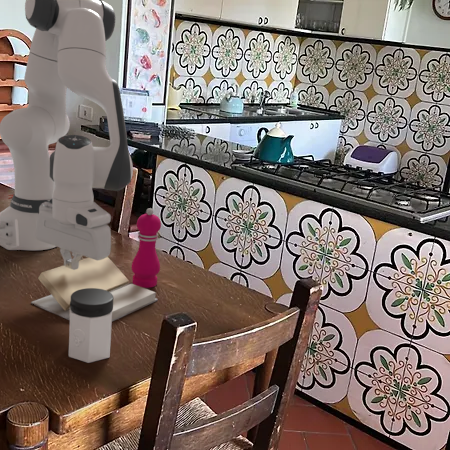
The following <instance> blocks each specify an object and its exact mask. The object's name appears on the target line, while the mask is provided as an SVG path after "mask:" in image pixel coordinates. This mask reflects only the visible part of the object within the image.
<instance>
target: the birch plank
mask: <svg viewBox="0 0 450 450" xmlns="http://www.w3.org/2000/svg"><path fill="white" fill-rule="evenodd" d="M37 280H39V281H40V283H41V284H42V285H43V286H44V287H45V289H46V290H47V291H48V292H49V294H50V295H52V296H53V297H54V298H55V299H56V301H57V302H58V303H59V304H60V305H61V307H62V308H63V309H64V310H68V309H70V301H71V295H72V293H74V292H75V291H77V290H81V289H86V288H97V289H103V290H106V291H108V292H109V291H111V290H114V289H116V288H119V287H121V286H124V285H126V284H129V283H130V280H129V279H128V278H127V277H126V276H125V274H124V273H123V272H122V271H121V270H120V269H119V267H118V266H116V264H115V263H114V262H113V260H111V259H110V258H109V256H108V257H107V258H104V259H101V260H94V259H91V258H89V257H86V258H81V259H80V261H79V267H78V269H75V270H73V269H70V268H67V267H65V266H64V264H63V265H61V266H58V267H55V268H52V269H48V270H45V271H43V272H40V274H39V276H38V279H37Z"/></svg>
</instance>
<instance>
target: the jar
mask: <svg viewBox="0 0 450 450" xmlns="http://www.w3.org/2000/svg"><path fill="white" fill-rule="evenodd" d="M113 299H114V297H113V295H112V294H111V293H110V292H108V291H106V290H103V289H97V288H86V289H81V290H77V291H75V292H74V293H72V295H71V301H70V309H71V311H70V320H69V327H68V328H69V330H68V333H69V334H68V336H69V338H68V357H69V358H71V359H74V360H78V361H81V362H84V363H87V364H90V363H94V362H98V361H101V360H105V359H108V358H110V356H111V354H110V353H111V344H112V343H111V341H112V340H111V339H112V326H113V325H112V324H113V323H112V322H113V321H112V310H113Z"/></svg>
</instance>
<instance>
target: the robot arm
mask: <svg viewBox="0 0 450 450" xmlns="http://www.w3.org/2000/svg"><path fill="white" fill-rule="evenodd" d="M24 11H25V12H24V13H25V19H26V21H27V23H28V24H29V25H30V26H31V27H33V28H35V30H34V33H33V37H32V41H31V43H30V47H29V53H28V58H27V63H26V68H25V73H24V77H23V78H24V84H25V85H26V86H27V90H28V105H27V107H22V108H17V109H15V110H13V111H11V112H9V113H8V114H6V115H5V116H4V117H3V118H2V119H1V121H0V138H1V140H2V142H3V143H4V145H6V147H8V150H9V151H10V155H11V158H12V162H13V169H14V193H12V194H8V195H7V197H8V198H7V199H8V200H10V204H9V205H8V207H6V208H5V209H3V210H2V211H0V246H1V247H3V248H4V249H6V250H8V251H17V250H18V251H20V250H21V251H43V250H45V251H46V250H50V249H53V248H56V247H57V248H59V251H60V255H61V257H62V259H63V265H64V266H65V267H67V268H70V269H73V270H75V269H78V267H79V261H80V260H82V259H83V257H86V258H88V257H89V258H91V259H94V260H101V259H104V258H107V257H108V258H109V256H110V254H111V252H112V251H111V249H112V248H111V247H112V232H111V228H110V226H109V225H108V224H110V222H111V218H112V216H111V214H110V212H107V211H106V210H105V209H103V208H102V207H101V206H100V205H98V204H97V203H96V202H95V201H94V192H93V189H104V190H107V191H115V192H119V191H121V190H123V189H124V188H125V187H127V186H128V185H129V184H130V183H131V182H132V177H133V173H134V172H133V171H134V168H133V167H134V166H133V160H132V157H131V155H130V151H129V144H128V137H127V129H126V121H125V115H124V107H123V101H122V95H121V90H120V86H119V84H118V82H117V81H116V80H115V79H113V78H112V77H111V75H110V73H109V72H108V69H107V63H106V62H107V61H106V59H107V58H106V55H107V49H106V47H107V45H106V42H107V40H109V39H110V38H111V37H112V35H113V34H114V30H115V26H116V14H115V10H114V8H113V6H112V5H110V4H109V3H107V2H105V1H103V0H25V3H24ZM67 90H69V91H71V92H72V93H73V94H76V95H77V96H80V97H82V98H84V99H86V100H89V102H90V101H91V102H93V103H95V104H96V105H98V106H99V107H100V108H101V109H102V110H103V111H104V112H105V114H106V119H107V127H108V135H109V141H110V144H109V145H108V146H107V147H106V146H105V147H104V146H94V145H93V142H92V140H91V139H90V138H89V137H86V136H83V135H79V134H68V133H69V130H70V127H71V126H70V125H71V122H70V118H69V116H68V113H67ZM67 134H68V135H67ZM55 143H56V145H55V150H54V151H53V152H51V154H50V152H49V145H52V144H55ZM72 257H73V258H72Z"/></svg>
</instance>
